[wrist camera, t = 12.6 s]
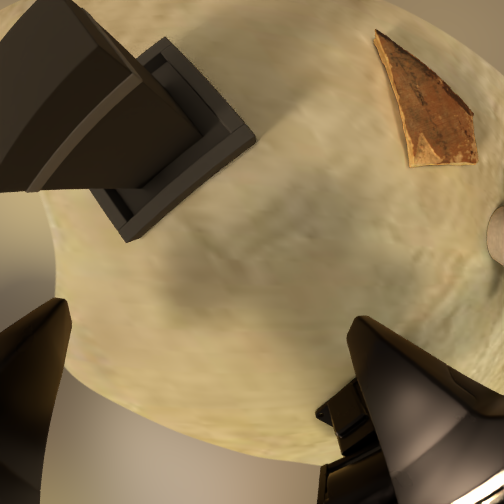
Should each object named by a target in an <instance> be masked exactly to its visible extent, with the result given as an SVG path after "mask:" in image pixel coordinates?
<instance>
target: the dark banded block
mask: <svg viewBox="0 0 504 504" xmlns="http://www.w3.org/2000/svg"><path fill="white" fill-rule="evenodd" d="M202 138H203V135H202V134H201V133H200V131H199V130H198V129H197V128H196V126H195V125H194V124H193V122H192V121H191V120H190V119H189V117H188V116H187V115H186V114H185V112H184V111H183V110H182V109H181V107H180V106H179V105H178V104H177V102H176V101H175V100H174V99H173V97H172V96H171V95H170V94H169V92H168V91H167V90H166V89H165V87H164V86H163V85H162V84H161V83H160V82H159V81H158V80H157V79H156V78H155V77H154V76H153V75H152V74H151V73H150V72H149V71H148V70H147V69H146V68H145V67H144V66H143V65H142V64H141V63H140V62H139V61H137V60H136V59H135V58H134V57H133V56H132V55H131V54H130V53H129V52H128V51H127V50H126V49H125V48H124V47H123V46H122V45H121V44H120V43H119V42H118V41H117V40H116V39H114V38H113V37H112V36H111V35H110V34H109V33H108V32H107V31H106V30H105V29H104V28H103V27H101V26H100V25H99V24H98V23H97V22H96V21H95V20H94V19H93V17H92V16H91V15H90V14H89V13H88V12H87V11H86V10H84V9H83V8H80V7H79V6H78V5H77V4H76V3H74V2H73V1H72V0H37V1H36V2H35V3H34V4H33V5H32V6H31V7H30V8H29V9H28V10H27V11H26V12H25V13H24V14H23V15H22V16H21V17H20V19H19V20H18V21H17V22H16V23H15V24H14V25H13V27H12V28H11V29H10V30H9V31H8V33H7V34H6V35H5V36H4V37H3V39H2V40H1V41H0V193H4V192H18V191H25V192H27V193H29V192H39V191H40V190H60V189H141V188H143V187H144V186H145V185H146V184H147V183H148V182H149V181H150V180H152V179H153V178H154V177H155V176H156V175H157V174H158V173H160V172H161V171H162V170H163V169H164V168H165V167H167V166H168V165H169V164H170V163H171V162H173V161H174V160H175V159H176V158H177V157H179V156H180V155H181V154H182V153H184V152H185V151H186V150H187V149H189V148H190V147H191V146H192V145H194V144H195V143H196V142H198V141H199V140H200V139H202Z"/></svg>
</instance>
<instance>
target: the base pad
mask: <svg viewBox="0 0 504 504" xmlns="http://www.w3.org/2000/svg"><path fill="white" fill-rule="evenodd" d="M136 60H137V61H139V62H140V63H141V64H142V65H143V66H144V67H145V68H146V69H147V70H148V71H149V72H150V73H151V74H152V75H153V76H154V77H155V78H156V79H157V80H158V81H159V82H160V83H161V84H162V85H163V86H164V87H165V89H166V90H167V91H168V92H169V94H170V95H171V96H172V97H173V99H174V100H175V101H176V102H177V104H178V105H179V106H180V107H181V109H182V110H183V111H184V112H185V114H186V115H187V116H188V117H189V119H190V120H191V121H192V122H193V124H194V125H195V126H196V128H197V129H198V130H199V131H200V133H201V134H202V135H203V138H202V139H200V140H199V141H198V142H196V143H195V144H194V145H192V146H191V147H190V148H189V149H187V150H186V151H185V152H184V153H182V154H181V155H180V156H179V157H177V158H176V159H175V160H174V161H173V162H171V163H170V164H169V165H168V166H167V167H165V168H164V169H163V170H162V171H161V172H160V173H158V174H157V175H156V176H155V177H154V178H153V179H152V180H150V181H149V182H148V183H147V184H146V185H145V186H144V187H143V188H141V189H89V190H90V191H91V193H92V194H93V196H94V197H95V199H96V200H97V202H98V203H99V205H100V206H101V208H102V209H103V211H104V212H105V214H106V215H107V217H108V218H109V220H110V221H111V222H112V224H113V225H114V227H115V228H116V230H117V231H118V232H119V234H120V235H121V237H122V238H123V239H124V241H125V242H126V243H128V242H131V241H133V240H136V239H139V238H140V237H141V236H143V235H144V234H145V233H146V232H147V231H148V230H149V229H150V228H151V227H152V226H154V225H155V224H156V223H157V222H158V221H159V220H160V219H161V218H163V217H164V216H165V215H166V214H167V213H168V212H169V211H171V210H172V209H173V208H174V207H175V206H176V205H178V204H179V203H180V202H181V201H182V200H184V199H185V198H186V197H187V196H188V195H189V194H191V193H192V192H193V191H194V190H196V189H197V188H198V187H199V186H200V185H202V184H203V183H204V182H205V181H207V180H208V179H209V178H210V177H212V176H213V175H214V174H215V173H217V172H218V171H219V170H220V169H222V168H223V167H224V166H226V165H227V164H228V163H229V162H231V161H232V160H233V159H235V158H236V157H237V156H239V155H240V154H241V153H243V152H244V151H245V150H247V149H248V148H249V147H251V146H252V145H253V144H255V143H256V139H255V135H254V134H253V132H252V131H251V130H250V129H249V128H248V126H247V125H246V124H245V123H244V121H243V120H242V119H241V118H240V117H239V116H238V114H237V113H236V112H235V111H234V110H233V109H232V107H231V106H230V105H229V104H228V103H227V102H226V101H225V99H224V98H223V97H222V96H221V95H220V94H219V93H218V92H217V90H216V89H215V88H214V87H213V86H212V85H211V84H210V83H209V82H208V80H207V79H206V78H205V77H204V76H203V75H202V74H201V73H200V72H199V71H198V70H197V69H196V68H195V66H194V65H193V64H192V63H191V62H190V61H189V60H188V59H187V58H186V57H185V56H184V55H183V54H182V53H181V52H180V51H179V50H178V49H177V48H176V47H175V46H174V45H173V44H172V43H171V42H170V41H169V40H168V39H167V38H166V37H163V38H162V39H161V40H159V41H158V42H157V43H155V44H154V45H153V46H151V47H150V48H149V49H148V50H146V51H145V52H144V53H143V54H141V55H140V56H139V57H138V58H136Z"/></svg>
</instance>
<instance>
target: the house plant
mask: <svg viewBox="0 0 504 504" xmlns="http://www.w3.org/2000/svg"><path fill="white" fill-rule="evenodd" d="M487 247H488V250H489V253H490V255H491V257H492V258H493V259H494V260H496V261H497V262H499V263H500V264H501V265H503V266H504V206H502V207H499V208H498V209H497V210H496V211H495V212H494V213H493V215H492V216H491V219H490V222H489V225H488V230H487Z"/></svg>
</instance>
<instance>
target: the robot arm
mask: <svg viewBox="0 0 504 504" xmlns="http://www.w3.org/2000/svg"><path fill="white" fill-rule="evenodd" d="M71 329H72V320H71V316H70V312H69V307H68V303H67V301H66V300H65V299H62V298H52V299H51V300H49V301H47V302H46V303H44V304H43V305H41V306H39V307H38V308H36V309H35V310H33V311H32V312H30V313H29V314H27V315H26V316H24V317H23V318H21V319H20V320H18V321H17V322H15V323H14V324H12V325H11V326H9V327H8V328H6V329H5V330H3V331H2V332H1V333H0V504H40V489H41V478H42V469H43V461H44V454H45V448H46V442H47V436H48V431H49V426H50V421H51V417H52V412H53V408H54V404H55V399H56V395H57V391H58V388H59V384H60V380H61V377H62V373H63V368H64V363H65V358H66V352H67V347H68V343H69V338H70V333H71ZM347 344H348V348H349V351H350V355H351V359H352V362H353V366H354V370H355V374H356V378H355V379H354V380H352V381H351V382H350V383H349V384H348V385H347V386H346V387H344V388H343V389H342V390H341V391H340V392H339V393H337V394H336V395H335V396H334V397H333V398H331V399H330V400H329V401H328V402H326V403H325V404H324V405H323V406H321V407H320V408H319V409H318V410H317V411H316V412H315V415H316V418H317V419H319V420H321V421H323V422H325V423H326V424H328V425H330V426H332V427H334V431H335V434H336V436H337V439H338V443H339V446H340V450H341V454H342V455H343V456H344V457H343V458H341V459H339V460H337V461H334V462H332V463H330V464H325V465H323V466H321V468H320V478H319V488H318V499H317V504H504V395H501V394H499V393H497V392H495V391H493V390H491V389H489V388H487V387H485V386H483V385H482V384H480V383H478V382H476V381H474V380H472V379H470V378H469V377H467V376H465V375H463V374H462V373H460V372H458V371H457V370H455V369H453V368H452V367H450V366H449V365H447V364H445V363H444V362H442V361H440V360H439V359H437V358H436V357H434V356H432V355H431V354H429V353H428V352H426V351H424V350H423V349H421V348H419V347H418V346H416V345H415V344H413V343H411V342H410V341H408V340H406V339H405V338H403V337H402V336H400V335H398V334H397V333H395V332H393V331H392V330H390V329H389V328H387V327H385V326H384V325H382V324H380V323H379V322H377V321H375V320H374V319H372V318H371V317H369V316H357V317H356V318H355V319H354V321H353V323H352V325H351V327H350V329H349V331H348V333H347ZM320 413H322V414H320Z"/></svg>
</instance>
